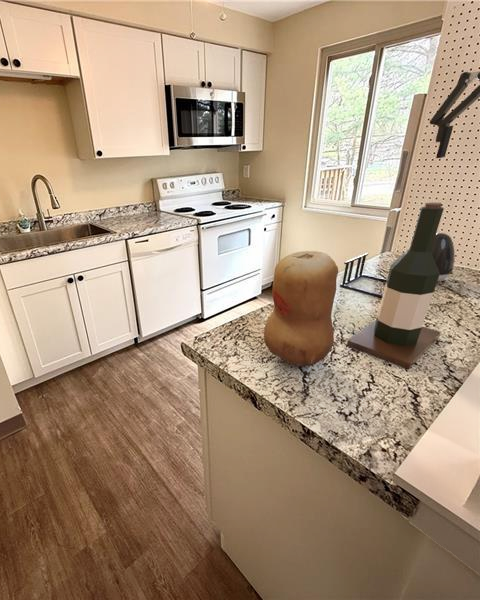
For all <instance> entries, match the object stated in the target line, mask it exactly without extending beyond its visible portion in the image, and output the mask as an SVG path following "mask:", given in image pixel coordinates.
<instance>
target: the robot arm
mask: <svg viewBox="0 0 480 600" xmlns="http://www.w3.org/2000/svg"><path fill="white" fill-rule="evenodd" d="M476 79H477V80H478V81H479V82H480V71H472V72H471V71H464V72H462V73H460V76H459V78H458V81H457V83H456V86H455V87H454V88H453V89H452V91H451V92H450V93H449V94H448V96H447V98H446V99H445V100H444V102H443V103H442V104H441V106H440V107H439V108H438V110H437V111H436V112H435V114H433V116H432V118H431V119H430V121H429V124H430V125H434V126H437V133H436V136H435V143H439V145H438V149H437V153H436V156H435V159H442V158H445V157H446V155H447V152H448V151H447V150H448V147H449V144H450V140H451V136H452V132H453V129H454V125H451V123H452V122H454V121H455V120H456V119H457V118H458V117H459V116H460V115H462V114H463V113H464V112H465V111H466V110H467V109H468V108H469V107H470V106H472V104H474V103H475V102H476V101H477V100H479V98H480V84H479V85H477V86H476V88H474V89H473V90H472V91H471V93H470V94H469V95H468V96H467V97H465V98H464V100H462V101H461V102H460V103H459V104H458V105H457V106H456V107H455V108H454V109H453V110H451V108H452V107H453V106H454V104H455V103H456V102H457V101H458V99H459V98H460V97H461V95H462V94H463V93H464V91H465V90H466V89H467V87H468V86H469V85H471V84H472V83H473V82H474V80H476ZM450 110H451V111H450ZM449 111H450V112H449Z"/></svg>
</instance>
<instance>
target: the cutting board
mask: <svg viewBox="0 0 480 600" xmlns="http://www.w3.org/2000/svg"><path fill="white" fill-rule="evenodd" d="M376 320H377V318H375V319H374V320H372V321H371V322H370V323H368V325H366V326H365V327H363V328H362V329H360V330H359V331H358V332H357V333H356V334H354V335H353V336H351V337H350V338H349V339H347V342H346V347H349V348H352V349H354V350H356V351H358V352H362V353H364V354H368V355H370V356H373V357H375V358H378V359H380V360H383V361H386V362H388V363H391V364H393V365H396V366H399V367H401V368H404V369H406V370H410V369H411V368H412V366H413V365H414V364H415V363H416V362H417V361H419V359H420V358H421V357H422V356H423V355H424V354H425V353H426V352H427V351H428V350H429V349H430V348H431V347H432V345H433V344H434V343H435V342H436V341H437V340H438V339H439V338H440V336H441V333H442V331H439V330H435V329H433V328H429V327H425V326H422V329H421V332H420V335H419V338H418V341H417V343H416V344H412V345H407V346H401V345H396V344H390V343H386V342H384V341H383V340H381V339H379V338H377V337H376V336H374V328H375V324H376Z"/></svg>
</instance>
